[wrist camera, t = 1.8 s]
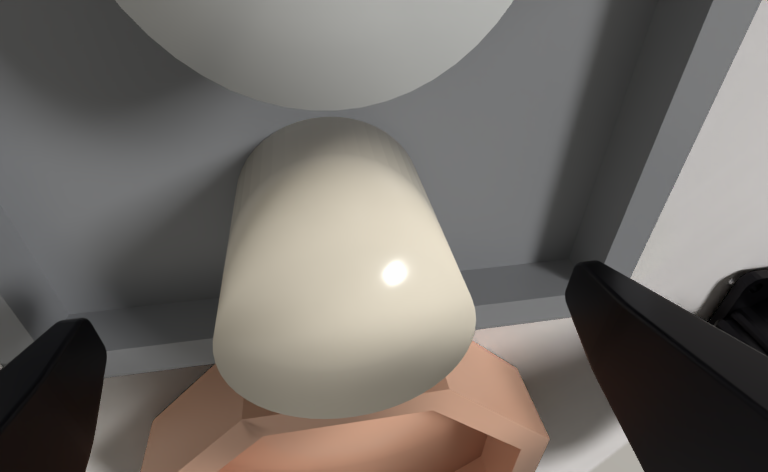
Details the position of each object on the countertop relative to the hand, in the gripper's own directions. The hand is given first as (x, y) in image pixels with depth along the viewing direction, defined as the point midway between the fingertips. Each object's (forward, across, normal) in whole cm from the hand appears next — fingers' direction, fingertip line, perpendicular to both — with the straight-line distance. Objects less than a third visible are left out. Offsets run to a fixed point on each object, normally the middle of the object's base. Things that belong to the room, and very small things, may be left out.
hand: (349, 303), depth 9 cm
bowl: (+4, 0, +12) cm, 13 cm away
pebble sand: (+3, 0, 0) cm, 3 cm away
